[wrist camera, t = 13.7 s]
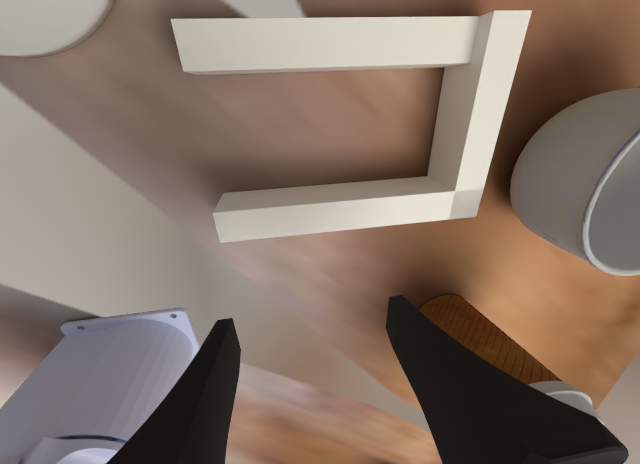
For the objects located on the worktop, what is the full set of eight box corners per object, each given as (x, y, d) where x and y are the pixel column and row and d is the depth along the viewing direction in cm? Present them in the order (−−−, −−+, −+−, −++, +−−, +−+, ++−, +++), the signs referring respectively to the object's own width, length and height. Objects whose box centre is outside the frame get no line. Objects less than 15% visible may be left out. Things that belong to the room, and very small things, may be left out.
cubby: (229, 218, 19) (220, 242, 16) (187, 31, 14) (161, 12, 11) (446, 198, 21) (475, 216, 18) (482, 27, 16) (532, 10, 13)
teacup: (474, 230, 23) (562, 290, 16) (504, 91, 18) (654, 88, 11) (615, 207, 24) (755, 254, 17) (681, 70, 19) (922, 55, 12)
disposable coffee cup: (496, 280, 26) (645, 404, 16) (463, 345, 30) (562, 477, 20) (409, 281, 24) (509, 422, 14) (387, 350, 29) (451, 497, 18)
